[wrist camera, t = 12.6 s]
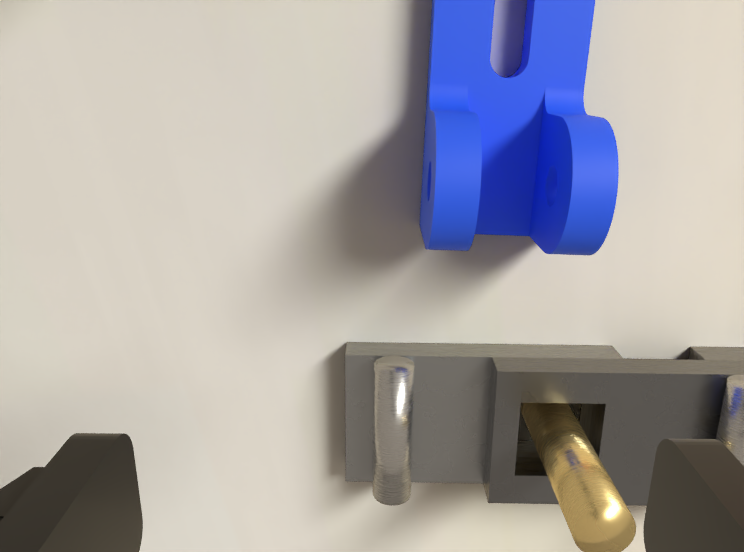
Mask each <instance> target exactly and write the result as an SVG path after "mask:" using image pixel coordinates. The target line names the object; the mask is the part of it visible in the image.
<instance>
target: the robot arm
mask: <svg viewBox="0 0 744 552" xmlns="http://www.w3.org/2000/svg"><path fill="white" fill-rule="evenodd" d="M142 529H143V520H142V511H141V503H140V496H139V488H138V481H137V473H136V466H135V458H134V451H133V445H132V441H131V439H130V437H129V436H128V435H127V434H95V433H76V434H74V435H72V436H71V437H70V438H69V439H68V440H67V441H66V442H65V444H64V445H63V446H62V447H61V448H60V450H59V451H58V452H57V453H56V454H55V456H54V457H53V458H52V459H51V461H50V462H49V463H48V464H47V465H46V467H33V468H32V469H30V470H29V471H27V472H26V473H24V474H23V475H21V476H20V477H18V478H17V479H15V480H14V481H12V482H11V483H9V484H8V485H6V486H5V487H3V488H1V489H0V552H139V550H140V545H141V539H142ZM644 543H645V549H646V552H744V466H743V465H742V464H741V462H740V461H739V460H738V459H737V458H736V457H735V456H734V455H733V454H732V453H731V452H730V451H729V449H728V448H727V447H726V446H725V445H724V444H723V443H722V442H720V441H719V440H716V439H664V440H662V441H661V442H660V443H659V445H658V447H657V450H656V455H655V461H654V467H653V473H652V479H651V485H650V491H649V496H648V502H647V508H646V514H645V520H644Z"/></svg>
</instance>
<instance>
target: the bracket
mask: <svg viewBox="0 0 744 552" xmlns="http://www.w3.org/2000/svg"><path fill="white" fill-rule="evenodd" d="M494 5H495V0H432V14H431V32H430V49H429V67H428V84H427V102H426V120H425V137H424V155H423V172H422V190H421V207H420V229H421V233H422V236H423V240H424V244H425V248H426V249H430V250H457V251H468V250H469V249H470V247H471V245H472V242H473V238H474V234H486V235H514V236H530V238H531V239H532V240H533V241H534V242H535V243H536V244H537V245H538V246H539V247H540V248H541V249H542V250H543V251H544V252H545V253H547V254H568V255H592V254H594V253H596V252H597V251H598V250H599V248H600V247H601V246H602V244H603V242H604V240H605V238H606V236H607V234H608V231H609V228H610V225H611V222H612V218H613V214H614V209H615V204H616V197H617V188H618V152H617V145H616V140H615V136H614V133H613V130H612V128H611V126H610V124H609V122H608V121H607V120H606V119H604V118H601V117H595V116H590V115H587V114H586V112H585V109H584V102H583V94H584V84H585V76H586V69H587V61H588V53H589V45H590V37H591V29H592V21H593V14H594V6H595V0H527V8H526V19H525V29H524V39H523V49H522V59H521V64H520V67H519V68H518V70H517V71H516V72H515V73H514V74H513V75H511V76H509V77H507V78H504V77H501V76H499V75H498V74H496V73H495V72H494V70H493V69H492V67H491V63H490V52H491V40H492V28H493V16H494Z"/></svg>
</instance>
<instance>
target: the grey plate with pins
mask: <svg viewBox="0 0 744 552" xmlns="http://www.w3.org/2000/svg"><path fill="white" fill-rule="evenodd" d="M521 403H582V405H581V413H580V422H579V424H580V425H581V427H582V429H583V431H584V432H585V434H586V436H587V438H588V439H589V441H590V443H591V445H592V446H593V448H594V450H595V452H596V454H597V455H598V457H599V459H600V461H601V462H602V464H603V466H604V468H605V469H606V471H607V473H608V475H609V476H610V478H611V480H612V482H613V483H614V485H615V487H616V489H617V490H618V492H619V494H620V496H621V497H622V499H623V501H624V503H625V504H626V505H647V502H648V496H649V491H650V485H651V479H652V473H653V467H654V461H655V455H656V450H657V447H658V445H659V443H660V442H661V441H662V440H664V439H716V440H719V441H720V442H722V443H723V444H724V445H725V446H726V447H727V448H728V449H729V451H730V452H731V453H732V454H733V455H734V456H735V457H736V458H737V459H738V460H739V461H740V462H741V464H742V465H743V466H744V347H690V353H689V359H688V360H674V359H623V358H622V357H621V356H620V354H619V353H618V352H617V351H616V350H615V349H614V347H613V346H596V345H519V344H443V343H366V342H347V344H346V352H345V435H346V481H367V482H373V496H374V498H375V499H376V500H377V501H378V502H380V503H382V504H385V505H400V504H403V503H405V502H406V501H407V500H408V499H409V498H410V495H411V482H430V483H483V484H484V488H485V492H486V496H487V500H488V503H531V504H559V502H558V500H557V498H556V495H555V493H554V490H553V488H552V485H551V483H550V481H549V478H548V476H547V473H546V471H545V469H544V466H543V464H542V461H541V459H540V457H539V454H538V452H537V449H536V447H535V444H534V442H533V441H523V440H518V431H519V419H520V407H521Z"/></svg>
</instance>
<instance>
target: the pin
mask: <svg viewBox="0 0 744 552" xmlns="http://www.w3.org/2000/svg"><path fill="white" fill-rule="evenodd" d="M521 412H522V415H523V418H524V420H525V423H526V425H527V428H528V430H529V432H530V435H531V437H532V440H533V442H534V444H535V447H536V449H537V452H538V454H539V457H540V459H541V461H542V464H543V466H544V469H545V471H546V473H547V476H548V478H549V481H550V483H551V485H552V488H553V490H554V493H555V495H556V498H557V500H558V502H559V505H560V507H561V510H562V512H563V514H564V517H565V519H566V522H567V524H568V527H569V529H570V531H571V534H572V536H573V539H574V541H575V543H576V545H577V546H578V547H579V548H580V549H581V550H582V551H583V552H621V551H622V550H624V549H625V548H626V547H628V545H629V544H630V543H631V542H632V540H633V538H634V536H635V532H636V524H635V521H634V518H633V517H632V515H631V513H630V511H629V510H628V508H627V506H626V504H625V503H624V501H623V499H622V497H621V496H620V494H619V492H618V490H617V489H616V487H615V485H614V483H613V482H612V480H611V478H610V476H609V475H608V473H607V471H606V469H605V468H604V466H603V464H602V462H601V461H600V459H599V457H598V455H597V454H596V452H595V450H594V448H593V446H592V445H591V443H590V441H589V439H588V438H587V436H586V434H585V432H584V431H583V429H582V427H581V425H580V424H579V422H578V420H577V418H576V417H575V415H574V413H573V411H572V410H571V408H570V406H569V404H568V403H522V406H521Z"/></svg>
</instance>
